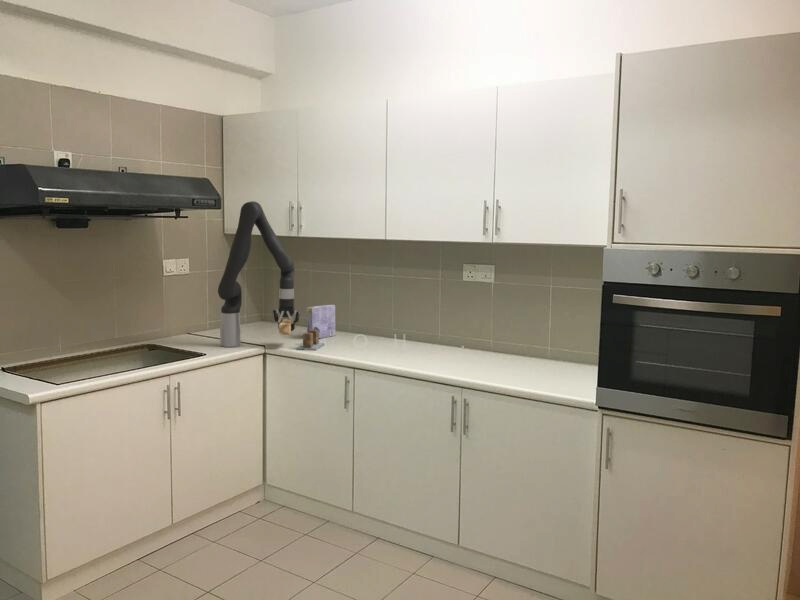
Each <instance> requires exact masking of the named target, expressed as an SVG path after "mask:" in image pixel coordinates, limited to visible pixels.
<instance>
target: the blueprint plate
mask: <svg viewBox="0 0 800 600" xmlns="http://www.w3.org/2000/svg"><path fill="white" fill-rule="evenodd" d="M325 344H326V343H324V342H323V343H322V342H319V343H318V344H317V345H313V347H312V348H303V344H301V345H299V346H298V347H296V350H297V349H307V350H306V351H315V350H316V351H318V350H320V349H321V348H323V347H324V346H325ZM322 346H323V347H322ZM320 347H321V348H320ZM317 349H318V350H317Z"/></svg>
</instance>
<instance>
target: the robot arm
mask: <svg viewBox="0 0 800 600" xmlns="http://www.w3.org/2000/svg"><path fill="white" fill-rule="evenodd" d="M254 226H256V228H257V229H258V232H259V234H260V235H261V239H262V241H263V242H264V245H265V247H266V248H267V249H268V251H269V253H270V255H272V256H273V258H274V261H275V262H276V265H277V266H278V268H279V269H280V279H279V293H278V299H279V300H278V309H277V308H275V309H273V310H272V312H273V318H274V322H277V324H278V326H277V328H278V329H279V324H280V323H281V322H282V321H283V320H284V318H288V320H290V321H291V331H292V332H293V331H294V330H295V328H296V326H295V324H296V323H299V320H300V315H301V311H300V310H296V309H295V290H294V289H295V287H294V286H295V282H294V281H295V280H294V275H295V262H294V260H293V258H291V257H289V255H288V253H287V252H286V250H285V246H283V244H282V241H280V239H279V238H278V236H277V235H276V233H275V231H274V230H273V228H272V226H271V224H270V222H269V221H268V218H267V216H266V214H265V211H264V210H263V207H262V205H261V204H260V203H259V202H257V201H255V200H254V201H247V202H245V203H243V204H242V206H241V208H240V213H239V219H238V224H237V229H236V232H235V234H234V237H233V240H232V243H231V247H230V250H229V253H228V259H227V261H226V265H225V269H224V272H223V274H222V277H221V279H220V283H219V284H218V288H217V294H218V296H219V298H220V299H221V300H224V304H223V305H222V306H221V308H220V309H221V310H220V311H221V313H220V315H221V317H220V318H221V327H220V328H219V329H220V330H219V335H220V336H219V337H220V340H219V341H220V342H219V343H220V347H224V348H237V347H240V346H241V344H242V340H241V308H242V297H243V296H242V287H241V284H240V283H239V282H238V281H237V279H238V276H239V274H240V273H241V271H242V269H244V267H245V264H246V263H247V261H248V259H249V256H250V252H251V248H252V235H253V229H254V228H255V227H254ZM279 314H280V315H279ZM294 315H295V316H294Z"/></svg>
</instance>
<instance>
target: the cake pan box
mask: <svg viewBox="0 0 800 600" xmlns="http://www.w3.org/2000/svg"><path fill="white" fill-rule="evenodd" d="M310 330H319V338H320V339H325V337H326V338H330V336H331V337H335V335H336V305H335V304H323V305H317V306H316V305H315V306H307V307H306V333H309V331H310Z"/></svg>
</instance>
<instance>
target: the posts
mask: <svg viewBox="0 0 800 600" xmlns="http://www.w3.org/2000/svg"><path fill="white" fill-rule="evenodd" d="M318 343H320V339H319V330H310V331H309V333H307V332H304V333H303V334H302V345H303V348H312V347H313V345H317V344H318Z"/></svg>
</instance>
